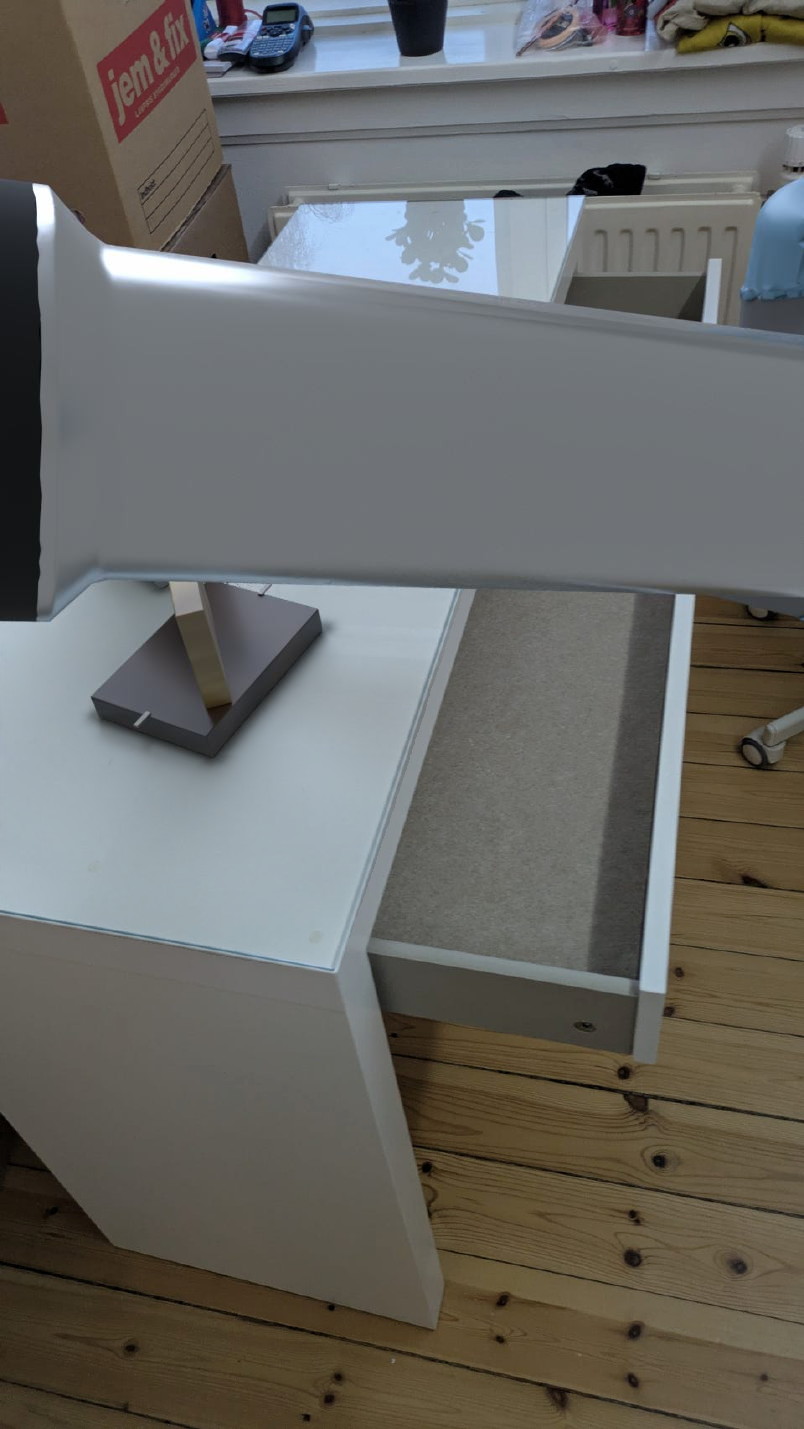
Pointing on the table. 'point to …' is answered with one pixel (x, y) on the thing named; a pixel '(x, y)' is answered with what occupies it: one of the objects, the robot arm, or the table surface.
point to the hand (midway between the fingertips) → (231, 421)
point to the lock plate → (254, 657)
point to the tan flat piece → (200, 641)
